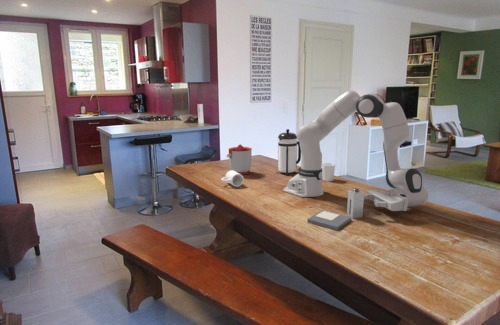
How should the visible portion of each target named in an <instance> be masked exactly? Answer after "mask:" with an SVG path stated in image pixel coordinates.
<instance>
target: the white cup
mask: <svg viewBox="0 0 500 325" xmlns="http://www.w3.org/2000/svg"><path fill="white" fill-rule="evenodd" d="M335 168H336V164H335V163H333V162H331V163H330V162H324V163H322V181H323V182H324V181H325V182H333V181H334V178H335V177H334V176H335V170H336V169H335Z"/></svg>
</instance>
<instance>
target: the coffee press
mask: <svg viewBox="0 0 500 325" xmlns="http://www.w3.org/2000/svg"><path fill="white" fill-rule="evenodd" d="M277 138H278V142H277V144H278V145H277V146H278V151H277V154H278V155H277V158H278V159H277V169H276V173H277V174H278V173H285V177H286V176H289V173H296V172H297V169H298V168H297V164H299V163H301V148H300V143H299V141H298V139H297V133H294V132H290V129H289V128H287V129H286V130H285V132H282V133H280V134H278V137H277Z"/></svg>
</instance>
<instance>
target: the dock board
mask: <svg viewBox="0 0 500 325" xmlns="http://www.w3.org/2000/svg"><path fill="white" fill-rule="evenodd" d="M351 221H352V218H351V217H350V216H348V215H345V214H340V213H337V212H332V211H328V210H326V209H325V210H324V209H322V210H321V211H319V212H317V213H315V214H313V215H312V216H310V217H308V218H307V223H310V224H312V225H316V226H320V227H323V228H326V229H330V230H334V231H338V230H339V229H341V228H342V227H343V226H345V225H347V224H348V223H349V222H351Z"/></svg>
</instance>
